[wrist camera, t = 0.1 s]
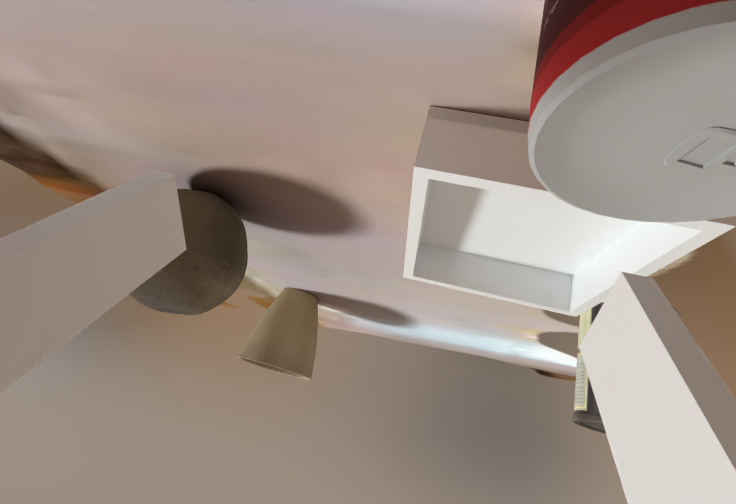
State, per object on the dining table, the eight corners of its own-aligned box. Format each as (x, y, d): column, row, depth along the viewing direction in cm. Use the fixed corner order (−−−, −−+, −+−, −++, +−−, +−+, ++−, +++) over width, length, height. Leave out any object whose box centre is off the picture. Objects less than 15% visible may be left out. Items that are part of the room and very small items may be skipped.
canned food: (732, 17, 17) (764, 239, 13) (535, 19, 19) (509, 209, 15) (918, -266, 10) (1119, 11, 6) (580, -210, 12) (555, 19, 8)
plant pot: (343, 300, 78) (319, 380, 72) (323, 310, 91) (301, 379, 85) (272, 274, 74) (240, 357, 68) (261, 288, 87) (234, 359, 81)
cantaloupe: (265, 234, 56) (224, 336, 50) (165, 197, 53) (109, 300, 47) (273, 190, 43) (218, 320, 37) (140, 139, 40) (60, 271, 34)
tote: (429, 105, 26) (414, 166, 24) (727, 153, 23) (736, 226, 21) (412, 236, 44) (403, 277, 42) (578, 272, 42) (575, 316, 40)
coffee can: (627, 288, 42) (627, 426, 37) (704, 317, 44) (714, 454, 38) (560, 306, 51) (551, 418, 46) (624, 329, 53) (624, 440, 48)
